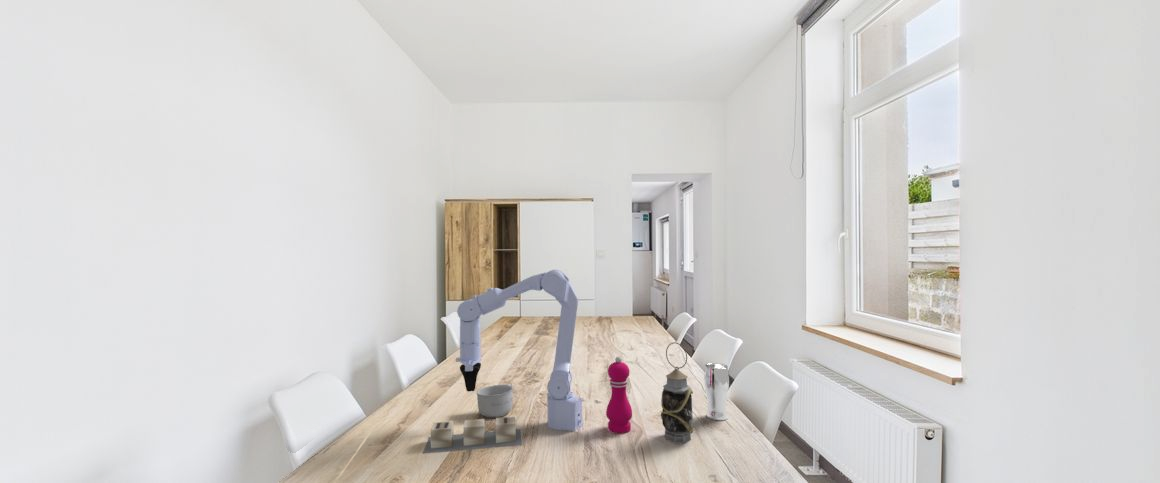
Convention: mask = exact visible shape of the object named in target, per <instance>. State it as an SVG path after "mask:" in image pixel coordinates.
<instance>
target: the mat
mask: <svg viewBox="0 0 1160 483" xmlns="http://www.w3.org/2000/svg"><path fill="white" fill-rule="evenodd" d="M514 446H523V440H522V432H521V429H516V441H512V442H501V443H496V430H495V431H485V438H484V444H477V445H465V446H464V433H461V434H460V433H459V434H454V439H453V443H452V447H442V448H431V436H429V437H428V439H427V441H426V444H425V447H424V448H423V449H424V450H423V451H422V454H432V453H433V454H434V453H443V452H444V453H445V452H456V451H467V450H470V451H471V450H480V449H492V448H502V447H514Z"/></svg>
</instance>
